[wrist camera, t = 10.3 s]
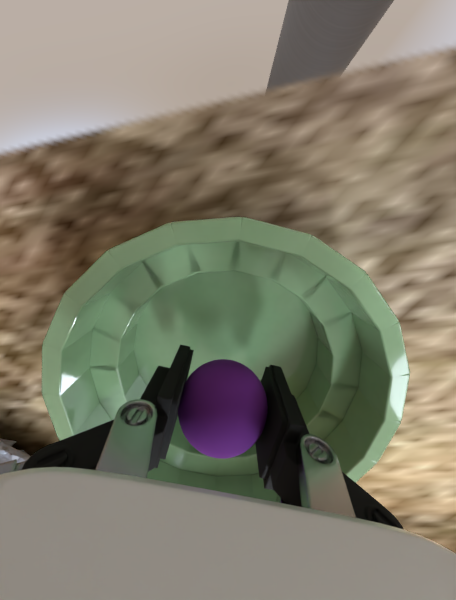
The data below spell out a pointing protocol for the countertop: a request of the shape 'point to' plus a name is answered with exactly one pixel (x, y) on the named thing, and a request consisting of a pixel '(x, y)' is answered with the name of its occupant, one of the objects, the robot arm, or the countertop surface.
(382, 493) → the countertop surface
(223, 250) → the green bowl
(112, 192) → the countertop surface
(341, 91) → the countertop surface
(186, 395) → the ball
